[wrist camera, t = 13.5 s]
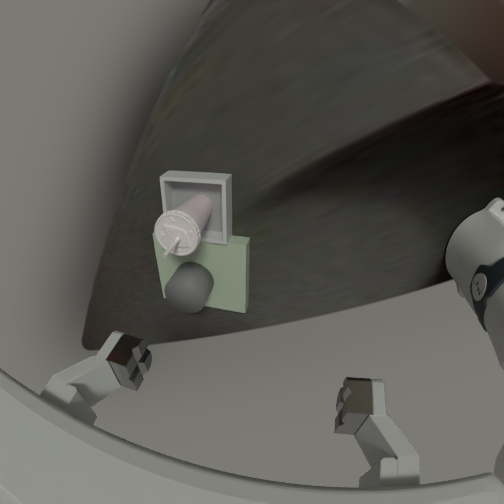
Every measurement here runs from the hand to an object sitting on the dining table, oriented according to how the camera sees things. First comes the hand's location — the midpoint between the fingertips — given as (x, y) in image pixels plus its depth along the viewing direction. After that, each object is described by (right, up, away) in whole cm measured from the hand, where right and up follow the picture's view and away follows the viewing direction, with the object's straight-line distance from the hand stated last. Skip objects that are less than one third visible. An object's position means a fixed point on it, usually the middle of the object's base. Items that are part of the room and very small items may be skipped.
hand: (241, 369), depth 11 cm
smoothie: (-7, +12, +35) cm, 38 cm away
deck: (-8, +6, +39) cm, 40 cm away
